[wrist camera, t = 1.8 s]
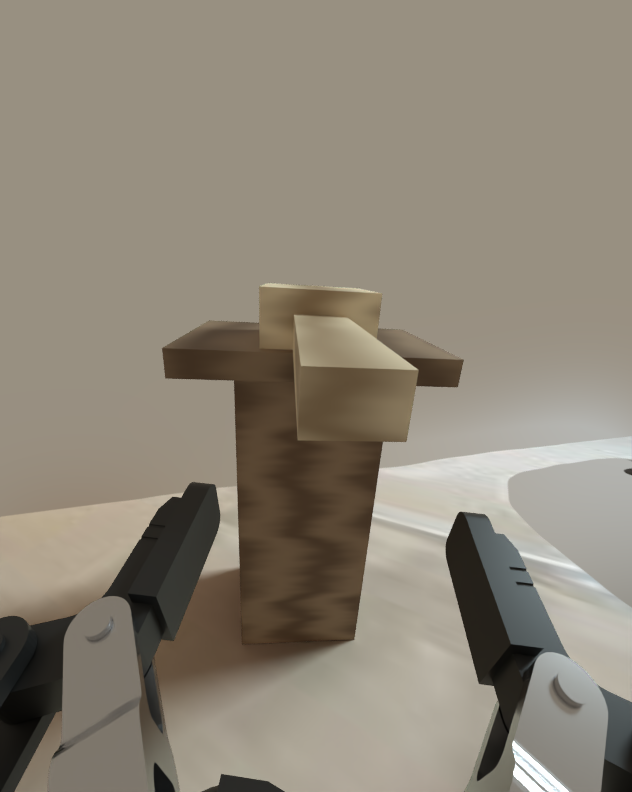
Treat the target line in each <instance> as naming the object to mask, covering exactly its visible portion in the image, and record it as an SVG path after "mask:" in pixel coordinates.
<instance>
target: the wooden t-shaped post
mask: <svg viewBox="0 0 632 792" xmlns="http://www.w3.org/2000/svg"><path fill="white" fill-rule="evenodd" d="M377 340H379V341H380V342H381V343H383V344H384V345H385V346H387V347H388V348H389V349H391V350H392V351H394V352H395V353H396V354H398V355H399V356H400V357H402V358H403V359H404V360H406V361H407V362H408V363H410V364H411V365H412V366H414V367H415V368H417V369H418V370H419V372H418V377H417V383H416V386H433V387H458V383H459V379H460V374H461V370H462V365H463V361H464V360H463V359H461V358H459V357H457V356H455V355H453V354H450V353H449V352H447V351H445V350H443V349H440V348H439V347H436V346H434V345H432V344H430V343H428V342H426V341H424V340H422V339H420V338H418V337H416V336H414V335H412V334H410V333H408V332H406V331H404V330H398V329H378V332H377ZM162 351H163V360H164V370H165V378H172V379H205V380H234V391H235V425H236V457H237V491H238V524H239V557H240V589H241V622H242V644H259V643H282V642H305V641H328V640H351V639H354V637H355V630H356V623H357V617H358V610H359V603H360V596H361V589H362V582H363V575H364V568H365V561H366V554H367V547H368V541H369V534H370V527H371V520H372V513H373V506H374V499H375V492H376V485H377V478H378V471H379V464H380V458H381V451H382V444H383V442H377V441H306V440H298V437H297V418H296V400H295V382H294V363H293V350H284V349H260V338H259V323H248V322H227V321H208V322H206V323H204V324H203V325H201V326H199V327H197V328H196V329H194V330H192V331H190V332H189V333H187V334H185V335H184V336H182V337H180V338H179V339H177V340H175V341H173V342H172V343H170V344H168V345H167V346H165V347H163V348H162Z"/></svg>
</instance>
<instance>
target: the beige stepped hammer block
mask: <svg viewBox="0 0 632 792" xmlns="http://www.w3.org/2000/svg"><path fill="white" fill-rule="evenodd" d="M381 300H382V293H377V292H373V291H367V290H363V289H358V288H342V287H325V286H308V285H290V284H274V283H266V284H264V285H262V286H260V287H259V303H260V308H259V309H260V310H259V311H260V312H259V314H260V315H259V338H260V349H284V350H293V363H294V382H295V400H296V418H297V437H298V440H306V441H377V442H384V441H385V442H406V441H407V435H408V429H409V424H410V418H411V412H412V406H413V401H414V394H415V389H416V383H417V377H418V372H419V370H418V369H417V368H415V367H414V366H412V365H411V364H410V363H408V362H407V361H406V360H404V359H403V358H402V357H400V356H399V355H398V354H396V353H395V352H394V351H392V350H391V349H389V348H388V347H387V346H385V345H384V344H383V343H381V342H380V341H379V340H377V332H378V324H379V315H380V308H381Z"/></svg>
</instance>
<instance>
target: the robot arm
mask: <svg viewBox="0 0 632 792" xmlns="http://www.w3.org/2000/svg"><path fill="white" fill-rule="evenodd" d="M219 523H220V510H219V504H218V497H217V491H216V487H215V485H214V484H205V483H196V482H192V483H190V484H189V486H188V487H187V489H186V490H185V492H184V494H183V496H182V498H178V497H172V498H171V499H170V500H168V501H167V502H166V503H165V504H164V505H163V506H161V507H160V508H159V509H158V511H157V512H156V514H155V516H154V517H153V519H152V520H151V522H150V524H149V527H147V528H146V530H145V532H144V533H143V535H142V538H141V540H139V541H138V543H137V545H136V546H135V548H134V549H133V551H132V553H131V554H130V556H129V558H128V559H127V561H126V562H125V564H124V566H123V567H122V569H121V570H120V572H119V574H118V575H117V577H116V579H115V580H114V582H113V583H112V585H111V587H110V588H109V589H108V591H107V592H106V593H105V594H104V596H103V597H102V598H101V599H98V600H96V601H94V602H92V603H91V604H89V605H88V606H86V607H85V608H84V609H83V610H81V611H80V612H79V613H78V614H76V615H74V616H71V617H67V618H63V619H58V620H54V621H49V622H45V623H40V624H36V625H31V626H30V625H29V624H28V623H27V622H26V621H25V620H24V619H23V618H21V617H17V616H8V617H3V618H0V792H14V791H15V789H16V787H17V785H18V783H19V781H20V780H21V778H22V776H23V774H24V772H25V770H26V768H27V766H28V764H29V762H30V761H31V759H32V757H33V755H34V753H35V751H36V749H37V747H38V745H39V744H40V742H41V740H42V738H43V736H44V734H45V732H46V730H47V728H48V726H49V725H50V723H51V721H52V719H53V717H54V715H55V713H56V712H59V711H62V736H61V743H60V747H59V749H58V750H57V751H56V752H55V753H54V755H53V757H52V760H51V764H50V768H49V775H48V790H47V792H180V788H179V782H178V776H177V771H176V766H175V761H174V757H173V753H172V749H171V746H170V743H169V739H168V735H167V730H166V725H165V719H164V713H163V707H162V701H161V695H160V689H159V683H158V677H157V672H156V666H155V660H154V655H155V653H156V650H157V648H158V646H159V643H160V641H161V639H163V640H170V641H174V639H175V636H176V634H177V631H178V629H179V626H180V624H181V621H182V619H183V616H184V614H185V611H186V609H187V606H188V604H189V601H190V599H191V596H192V594H193V591H194V589H195V586H196V584H197V581H198V579H199V576H200V574H201V571H202V569H203V566H204V564H205V561H206V559H207V556H208V554H209V551H210V549H211V546H212V544H213V542H214V539H215V537H216V534H217V531H218V528H219ZM446 559H447V563H448V567H449V571H450V575H451V578H452V582H453V586H454V590H455V594H456V598H457V601H458V605H459V609H460V613H461V617H462V620H463V624H464V628H465V632H466V636H467V640H468V643H469V647H470V651H471V655H472V659H473V663H474V666H475V670H476V674H477V678H478V682H479V684H484V685H491V686H494V688H495V691H496V695H497V698H498V701H497V702H496V704H495V707H494V710H493V713H492V716H491V719H490V722H489V725H488V728H487V731H486V734H485V737H484V740H483V743H482V746H481V749H480V752H479V755H478V758H477V761H476V764H475V767H474V770H473V773H472V776H471V779H470V781H469V783H468V785H467V787H466V789H465V791H464V792H632V702H630V701H627V700H625V699H623V698H621V697H619V696H617V695H615V694H613V693H611V692H609V691H607V690H605V689H603V688H601V687H600V686H598V685H597V684H596V683H595V681H594V680H593V679H592V678H591V676H590V675H589V674H588V673H587V672H586V671H585V670H584V669H583V668H582V667H581V666H580V665H578V664H577V663H576V662H574V661H573V660H571V659H570V657H569V656H568V654H567V653H566V651H565V649H564V648H563V646H562V644H561V641H560V639H559V637H558V635H557V633H556V631H555V629H554V626H553V624H552V622H551V620H550V618H549V616H548V614H547V612H546V609H545V607H544V605H543V603H542V601H541V599H540V597H539V595H538V592H537V590H536V588H535V587H533V582H532V580H531V577H530V575H529V573H528V572H526V567H525V565H524V563H523V560H522V558H521V556H520V554H519V552H518V550H517V549H516V548H515V547H514V546H513V544H512V543H511V542H510V541H509V540H508V539H507V538H506V536H505V535H504V534H496V533H495V532H494V530H493V527H492V525H491V523H490V520H489V518H488V517H487V516H486V515H485V514H477V513H467V512H459V513H458V515H457V517H456V519H455V522H454V524H453V526H452V529H451V531H450V534H449V536H448V538H447V542H446ZM202 792H284V791H283V790H281V789H279V788H278V787H276V786H275V785H273V784H271V783H270V782H268V781H262V780H256V779H249V778H243V777H236V776H230V775H224V774H221V778H220V782H219V785H218V786H215V787H211V788H209V789H207V790H205V791H202Z"/></svg>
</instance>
